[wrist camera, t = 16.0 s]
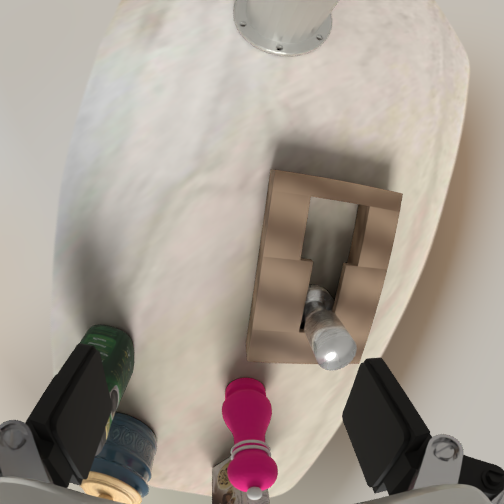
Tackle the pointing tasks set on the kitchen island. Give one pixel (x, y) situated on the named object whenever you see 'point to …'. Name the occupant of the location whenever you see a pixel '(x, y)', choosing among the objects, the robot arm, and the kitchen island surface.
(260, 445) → the pepper mill
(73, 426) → the robot arm
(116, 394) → the coffee jar
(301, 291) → the keyhole board
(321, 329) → the steel peg
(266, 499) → the coffee box
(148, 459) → the canister
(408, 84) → the kitchen island surface
